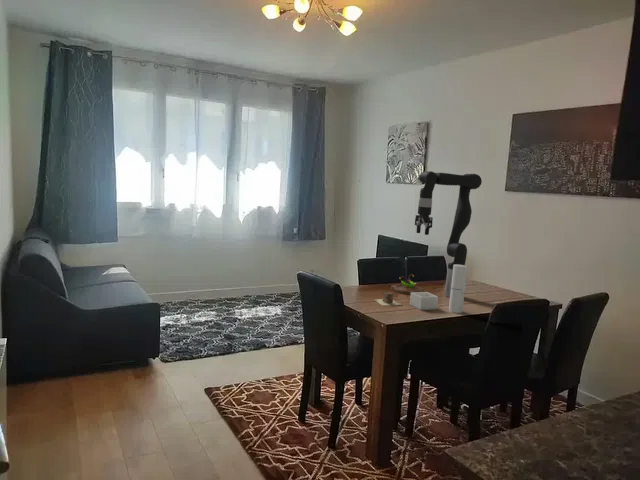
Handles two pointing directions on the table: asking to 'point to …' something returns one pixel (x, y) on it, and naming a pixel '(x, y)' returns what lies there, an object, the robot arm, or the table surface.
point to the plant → (406, 287)
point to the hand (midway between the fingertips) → (422, 234)
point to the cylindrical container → (457, 288)
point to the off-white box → (423, 300)
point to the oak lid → (387, 300)
